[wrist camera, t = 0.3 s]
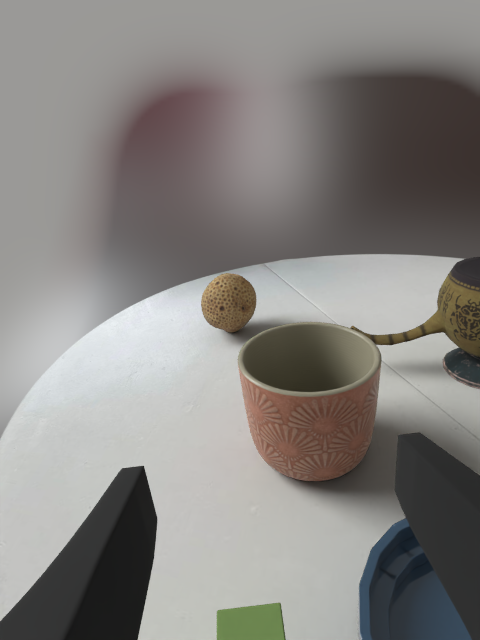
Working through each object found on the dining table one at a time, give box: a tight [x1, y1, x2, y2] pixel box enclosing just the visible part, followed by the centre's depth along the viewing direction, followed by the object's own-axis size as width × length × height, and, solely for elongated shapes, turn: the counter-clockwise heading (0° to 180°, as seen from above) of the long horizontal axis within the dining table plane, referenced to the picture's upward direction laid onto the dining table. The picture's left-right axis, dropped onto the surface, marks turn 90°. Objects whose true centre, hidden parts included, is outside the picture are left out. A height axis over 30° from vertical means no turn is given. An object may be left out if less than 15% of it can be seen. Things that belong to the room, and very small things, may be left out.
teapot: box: [350, 257, 480, 389], centre depth 43 cm, size 12×25×23 cm, turn 78°
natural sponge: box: [201, 273, 256, 332], centre depth 61 cm, size 9×9×10 cm
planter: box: [238, 322, 381, 481], centre depth 36 cm, size 12×12×11 cm
